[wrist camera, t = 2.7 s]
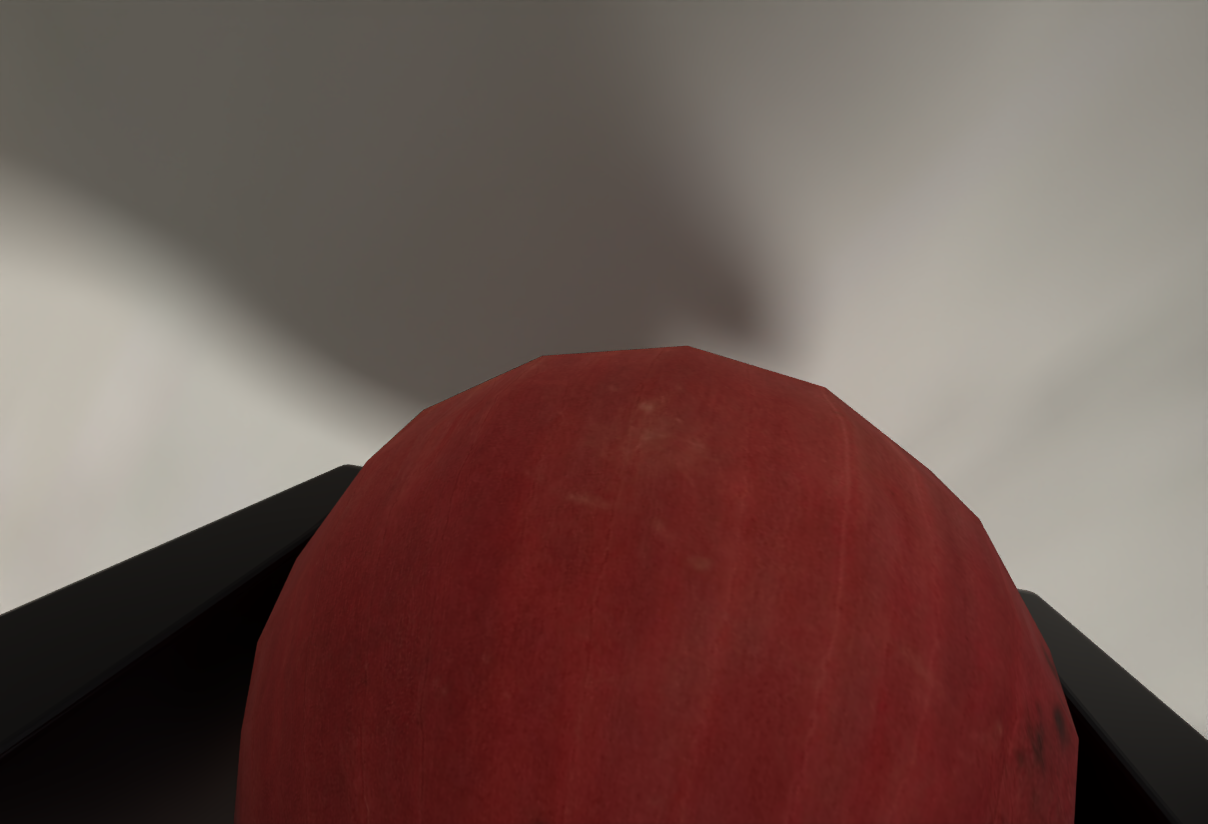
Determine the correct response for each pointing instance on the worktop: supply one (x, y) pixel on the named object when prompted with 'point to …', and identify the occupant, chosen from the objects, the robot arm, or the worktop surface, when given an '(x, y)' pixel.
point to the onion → (651, 621)
